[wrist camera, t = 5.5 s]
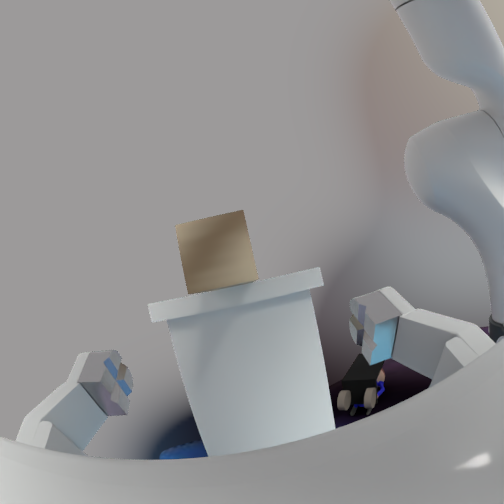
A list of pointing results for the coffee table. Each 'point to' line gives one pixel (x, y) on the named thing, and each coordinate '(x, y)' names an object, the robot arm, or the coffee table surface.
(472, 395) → the robot arm
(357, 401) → the figurine character
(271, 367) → the pedestal
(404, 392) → the coffee table surface
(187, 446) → the coffee table surface
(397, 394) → the coffee table surface
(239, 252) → the beech bar
